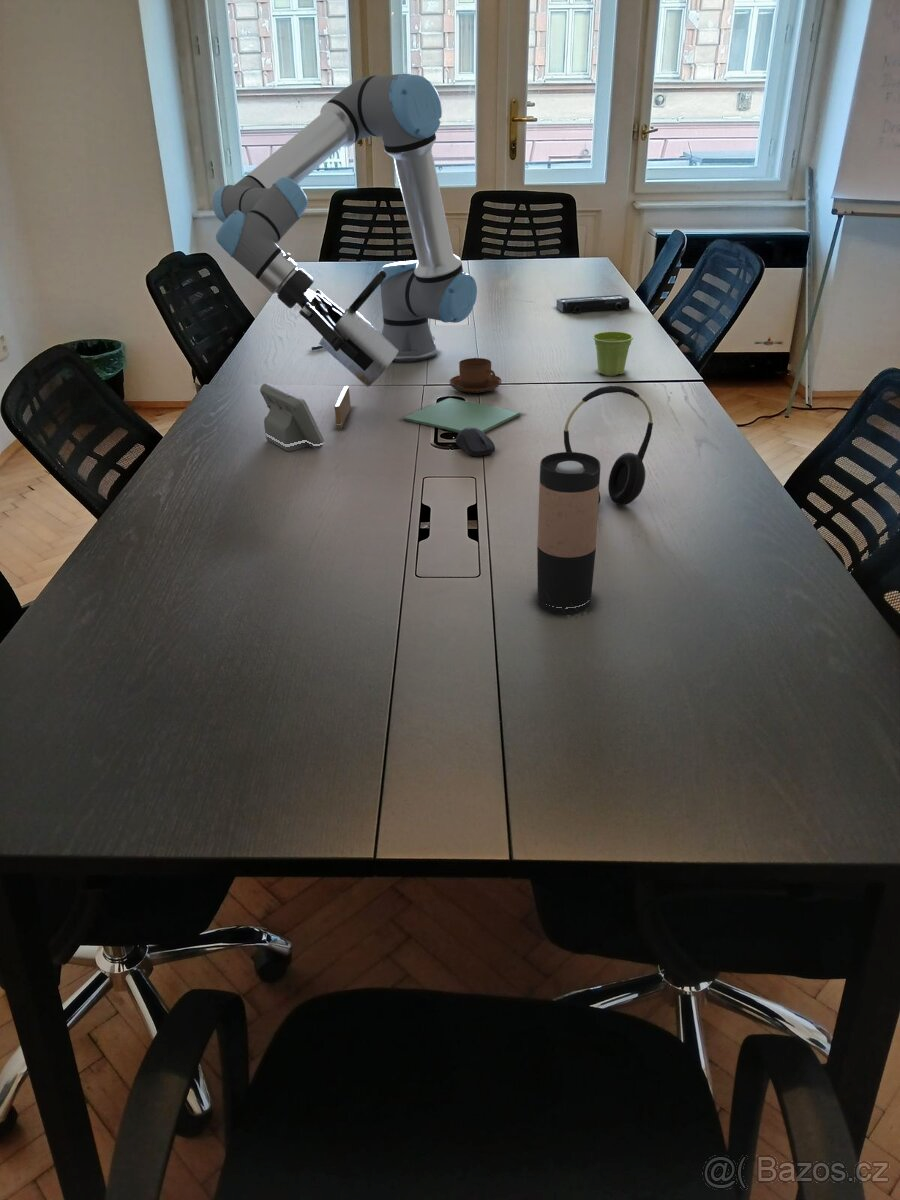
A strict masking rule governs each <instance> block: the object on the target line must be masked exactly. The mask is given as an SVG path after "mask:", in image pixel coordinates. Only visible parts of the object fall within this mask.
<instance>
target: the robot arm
mask: <svg viewBox="0 0 900 1200" xmlns="http://www.w3.org/2000/svg"><path fill="white" fill-rule="evenodd" d="M439 95H440V94H439V93H438V91H437V89H436V87H435V86H434V84H433V83H432V82H431V81H430V80H428V79H427V78H426V77H424V76H422V75H420V74H411V73H398V74H396V73H395V74H383V75H368V76H364V77H361V78H360V79H358V80H356V81H354V82H352V83H351V84H349V85H348V86H346V87H345V88H343V89H341V90H340V91H339V92H338V93H336V94H335V95H334V96H333V97H331V98H330V99H329V100H328V101H327V102H325V103H324V104H323V105H322V106H321V108H320V111H319V112H320V113H319V115H318V116H317V117H315V118H314V119H313V120H311V122H309V123H308V124H307V125H306V126H304V127H303V128H302V129H301V130H300V131H298V132H297V133H295V135H294V136H292V137H291V138H290V139H289V140H288V141H286V142H285V143H284V144H283V145H282V146H281V147H279V148H278V149H277V150H275V151H274V152H273V153H272V154H270V155H269V156H268V157H267V158H266V159H265V160H263V161H262V162H260V163H259V165H258V166H256V167H255V168H254V169H253V170H251V171H250V172H249V173H248V174H246V175H244V177H243V178H241V179H240V180H239V181H238V182H236V183H235V184H227V185H222V186H220V187H218V188H217V189H216V190H215V192H214V193H213V196H212V201H211V204H212V210H213V213H214V215H215V216H216V218H217V219H218V220H219V221H220V222H221V223H222V224H221V225H220V227H219V228H218V229H217V232H216V234H215V240H216V242H217V244H219V246H220V248H222V249H223V250H224V251H225V252H226V253H227V254H228V255H229V256H230V258H233V259H234V260H235V261H236V262H237V263H238V264H239V265H240V266H242V267H243V268H244V269H245V270H247V271H248V272H249V273H250V274H251V275H252V276H253V277H255V279H256V280H257V281H258V282H259V283H260V284H262V286H264V287H265V288H266V289H267V290H268V291H269V292H270V293H271V294H277V295H276V296H277V299H278V300H279V301H280V302H282V303H283V304H284V305H285V306H286V307H287V308H288V309H293V308H294V307H295V305H296V304H297V305H298V306H299V307H300V308H301V309H300V310H299V312H298V313H299V314H300V316H302V317H303V318H304V319H305V320H306V321H307V322H308V323H309V324H310V325H312V327H313V328H314V329H315V330H316V331H317V333H319V334H320V335H321V336H322V338H323V337H324V338H325V340H326V341H327V342H328V343H329V344H330V345H331V346H332V347H333V348H334V350H335V351H338V350H339V349H341V350H342V351H343V352H344V353H345V354H346V355H347V356H348V357H349V358H351V359H352V360H353V361H354V362H355V363H356V364H357V365H358V366H359V367H361V368H362V369H363V370H364V371H365V370H366V369H367V368H368V367H369V366H370V365H371V364H372V363H373V361H374V360H373V359H372V358H370V357H369V356H368V355H367V354H366V353H365V352H364V351H363V350H362V349H361V348H360V347H358V346H357V345H356V344H355V343H354V342H353V341H352V340H351V339H350V338H349V339H348V340H347V338H346V337H345V336H344V334H343V333H342V332H341V331H340V330H339V329H338V328H337V327H336V326H335V322H336V321H337V319H338V318H339V317H340V316H341V315H342V313H343V312H344V311H345V310H344V309H343V308H341V307H340V306H339V305H337V303H335V302H333V301H332V300H331V299H330V298H329V297H327V296H326V295H325V294H324V293H323V292H322V291H321V290H320V289H316V291H314V290H312V289H311V286H312V285H313V283H315V280H314V278H313V277H312V276H311V275H310V274H309V273H307V271H305V269H303V268H300V267H299V268H298V264H297V262H295V261H294V259H292V258H291V253H290V252H286V253H285V252H284V251H283V249H282V248H281V247H280V246H279V245H278V243H279V242H280V241H281V240H282V238H283V237H284V236H285V235H287V233H288V232H289V231H290V229H291V228H292V227H293V226H294V225H295V224H296V223H297V222H298V221H299V220H300V219H301V216H302V215H303V214H304V212H305V211H306V209H307V208H308V205H309V201H308V197H307V195H306V193H305V191H304V190H303V187H301V186H300V185H299V184H300V183H301V182H302V181H303V180H304V179H305V178H307V177H308V176H309V175H310V174H311V173H313V172H314V171H315V170H317V168H319V167H320V166H321V165H322V164H323V163H325V162H326V161H327V160H329V158H331V157H332V156H333V155H334V154H336V153H337V152H338V151H339V150H340V149H341V148H349V147H351V146H353V145H354V144H355V143H356V142H358V141H361V140H362V139H367V138H372V137H376V138H381V141H382V145H383V149H384V153H386V154H387V155H389V156H391V158H393V161H394V165H395V166H394V167H395V170H396V175H397V178H398V182H399V186H400V192H401V196H402V200H403V203H404V204H403V205H404V208H405V211H406V216H407V220H408V221H407V222H408V226H409V229H410V234H411V238H412V242H413V246H414V250H415V254H416V259H415V260H413V259H412V260H406V261H405V260H404V261H398V262H393V263H388V264H385V265H383V266H382V267H381V269H380V271H381V270H383V271H385V272H386V277H385V279H384V280H383V281H382V282H381V283H380V285H379V286H380V297H381V307H382V308H381V309H382V323H383V326H382V331H381V334H382V335H383V336H384V337H385V338H387V339H388V340H389V341H390V342H391V343H392V344H393V345H394V346H395V347H396V348H397V349H399V351H398V353H397V355H396V356H395V358H394V359H393V361H392V362H398V363H399V362H400V363H408V362H418V361H425V360H428V359H431V358H433V357H435V356H436V355H437V345H436V342H435V340H436V338H435V335H433V334H432V330H431V327H430V325H429V320H434V321H439V322H440V321H441V322H442V323H454V324H456V323H460V322H462V321H464V320H466V318H468V316H469V315H470V314H471V313H472V311H473V310H474V306H475V305H476V302H477V301H476V300H477V295H478V287H477V282H476V280H475V278H474V277H473V276H471V274H469V273H468V272H467V273H466V272H464V268H463V262H462V260H461V258H460V257H459V256H457V255H456V254H454V251H453V245H452V241H451V237H450V231H449V227H448V221H447V217H446V213H445V207H444V203H443V198H442V193H441V189H440V183H439V179H438V175H437V169H436V163H435V160H434V153H433V151H432V148H433V146H434V144H435V142H436V141H437V136H436V132H437V131H438V129H439V128H440V126H441V120H440V119H441V118H442V116H443V115H442V114H443V111H442V108H443V107H442V102H441V97H440V96H439ZM316 346H317V347H315V346H311V348H310V349H311V351H315V350H321V349H324V348H323V347H322V346H320V345H316Z"/></svg>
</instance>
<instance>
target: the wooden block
mask: <svg viewBox="0 0 900 1200" xmlns="http://www.w3.org/2000/svg"><path fill="white" fill-rule="evenodd" d="M350 411H351V395H350V386H349V385H344V386H343V388H342V390H341V392H340V394H339V396H338V399H337V400H336V402H335V405H334V415H335V425H336V424H341V423H342V424H341V425H336V430H342V429H343V427H344V425H345V422H346V420H347V418H348V415H349V413H350Z"/></svg>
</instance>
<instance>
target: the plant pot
mask: <svg viewBox="0 0 900 1200" xmlns="http://www.w3.org/2000/svg"><path fill="white" fill-rule="evenodd" d="M592 339H593V340H594V345H595V350H596V362H597V372H598V374H601V375H603V376H607V377H608V376H610V377H611V376H612V377H615V376H618V375H623V374H624V372H625V368H626V362H627V358H628V354H629V350H630V346H631V344H632V340H634V334H631V333H629V332H625V331H624V332H623V331H602V332H597V333H594V334H593V335H592Z"/></svg>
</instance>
